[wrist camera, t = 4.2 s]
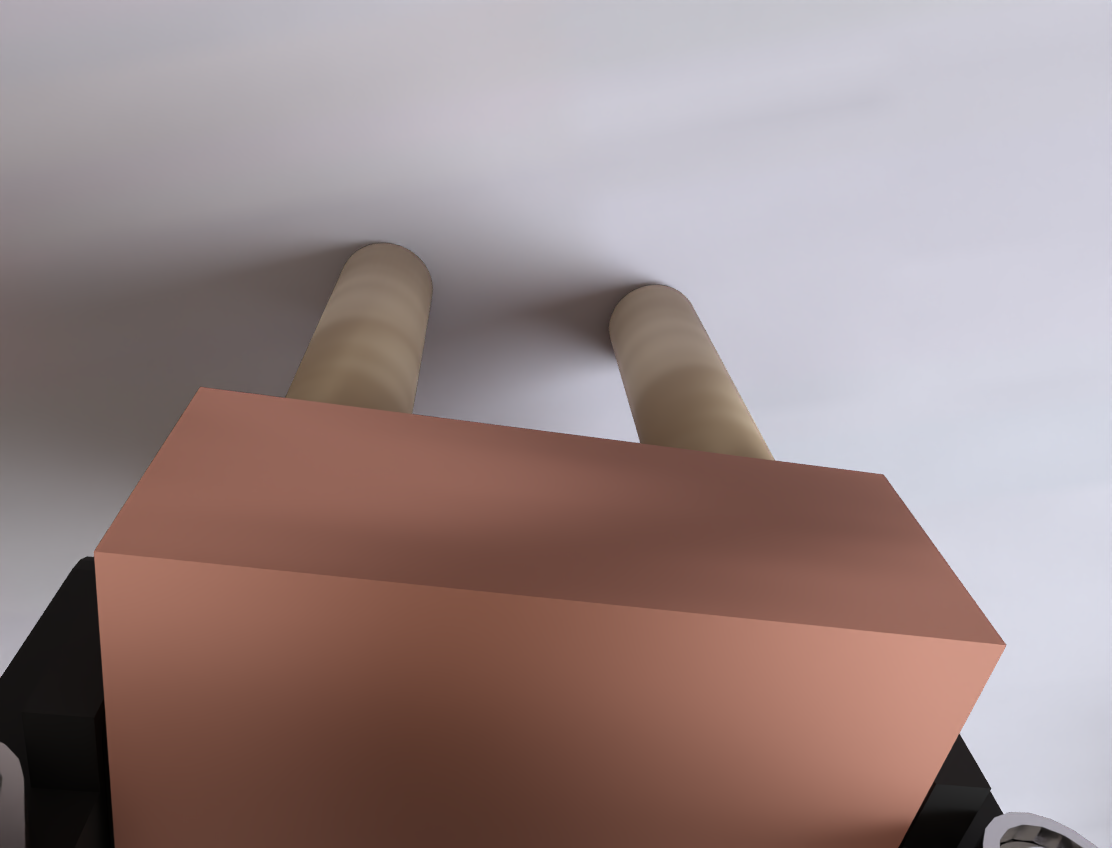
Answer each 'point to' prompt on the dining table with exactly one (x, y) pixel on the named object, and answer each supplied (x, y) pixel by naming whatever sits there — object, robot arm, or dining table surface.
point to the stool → (518, 615)
